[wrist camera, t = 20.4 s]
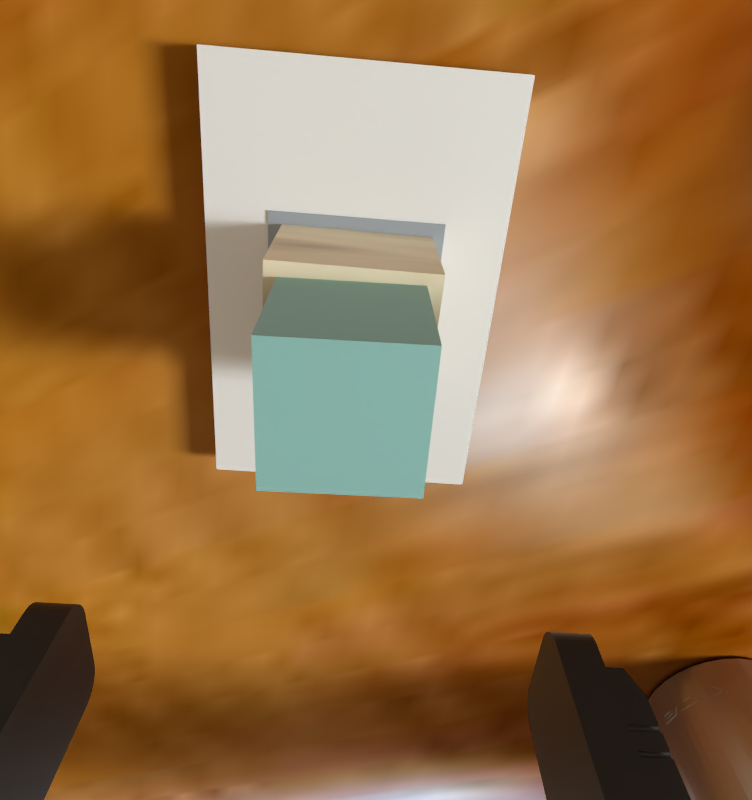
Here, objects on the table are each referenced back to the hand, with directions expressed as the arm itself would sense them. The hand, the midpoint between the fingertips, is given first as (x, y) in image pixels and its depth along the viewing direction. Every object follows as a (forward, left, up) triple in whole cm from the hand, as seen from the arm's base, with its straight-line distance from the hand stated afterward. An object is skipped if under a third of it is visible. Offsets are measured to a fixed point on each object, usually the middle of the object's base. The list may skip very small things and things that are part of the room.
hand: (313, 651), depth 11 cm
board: (0, 0, -19) cm, 19 cm away
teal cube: (0, 0, -13) cm, 13 cm away
